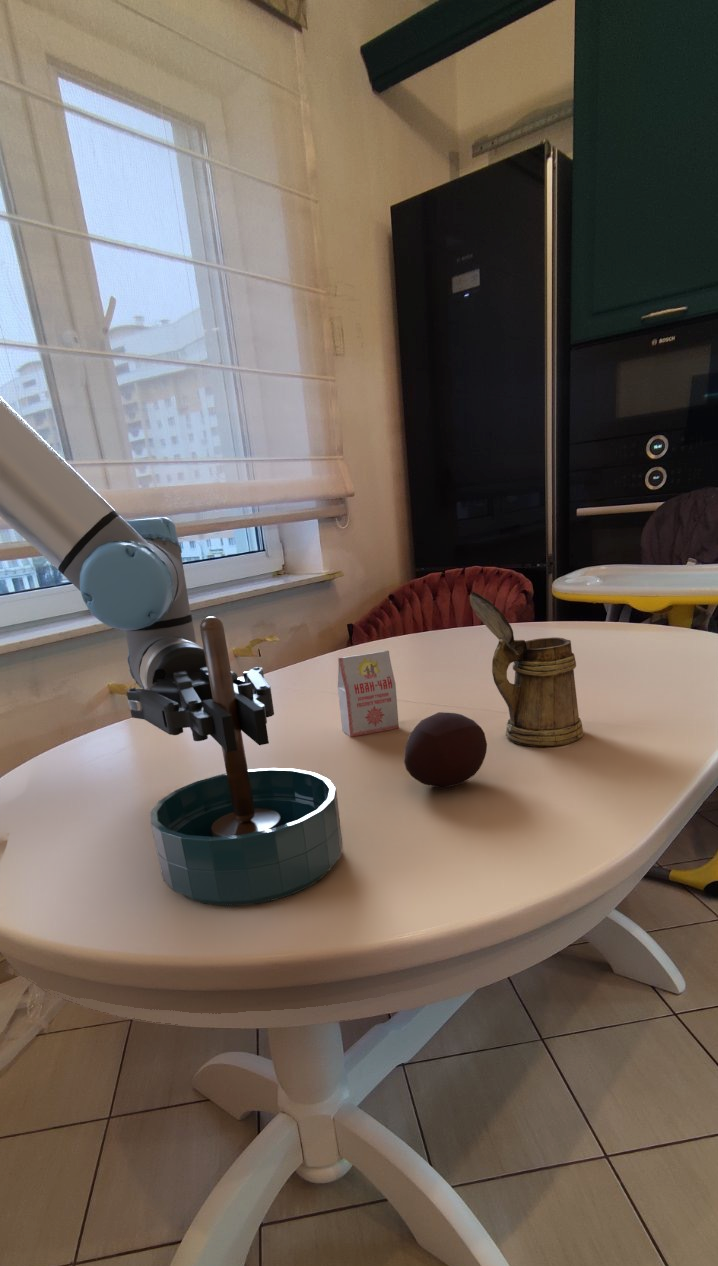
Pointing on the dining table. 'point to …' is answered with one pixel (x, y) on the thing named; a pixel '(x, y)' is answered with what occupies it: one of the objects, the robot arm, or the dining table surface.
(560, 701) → the wooden mug
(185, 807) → the bowl
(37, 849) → the dining table surface
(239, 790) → the brown stick with disc
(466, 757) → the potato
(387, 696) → the tea bag
